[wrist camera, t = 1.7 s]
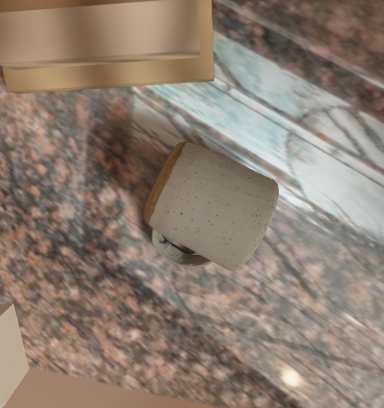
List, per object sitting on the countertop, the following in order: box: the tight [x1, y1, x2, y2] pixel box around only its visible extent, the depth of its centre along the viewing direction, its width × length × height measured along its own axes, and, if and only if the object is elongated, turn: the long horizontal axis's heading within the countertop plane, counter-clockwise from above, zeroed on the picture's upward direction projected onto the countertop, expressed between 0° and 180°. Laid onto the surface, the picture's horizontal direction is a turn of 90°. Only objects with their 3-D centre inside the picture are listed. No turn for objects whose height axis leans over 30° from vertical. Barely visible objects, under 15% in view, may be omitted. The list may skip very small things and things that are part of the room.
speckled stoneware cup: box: [143, 142, 279, 271], centre depth 23 cm, size 11×8×8 cm
